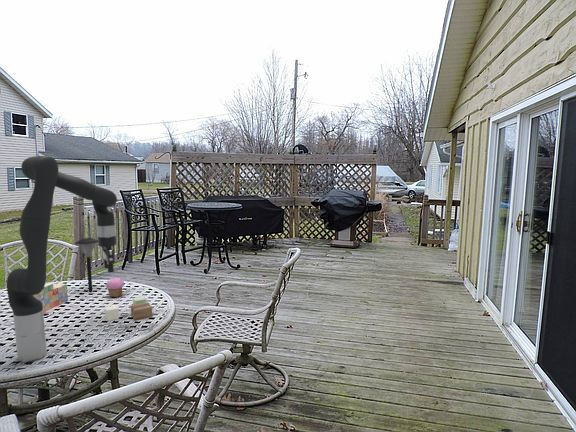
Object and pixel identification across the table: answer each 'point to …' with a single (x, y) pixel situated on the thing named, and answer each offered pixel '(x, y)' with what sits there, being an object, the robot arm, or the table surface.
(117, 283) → the cupcake
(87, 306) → the table surface
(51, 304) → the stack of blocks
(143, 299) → the sage green cube
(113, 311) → the cream cube
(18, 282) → the robot arm
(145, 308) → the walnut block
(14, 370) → the table surface
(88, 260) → the solar garden light
